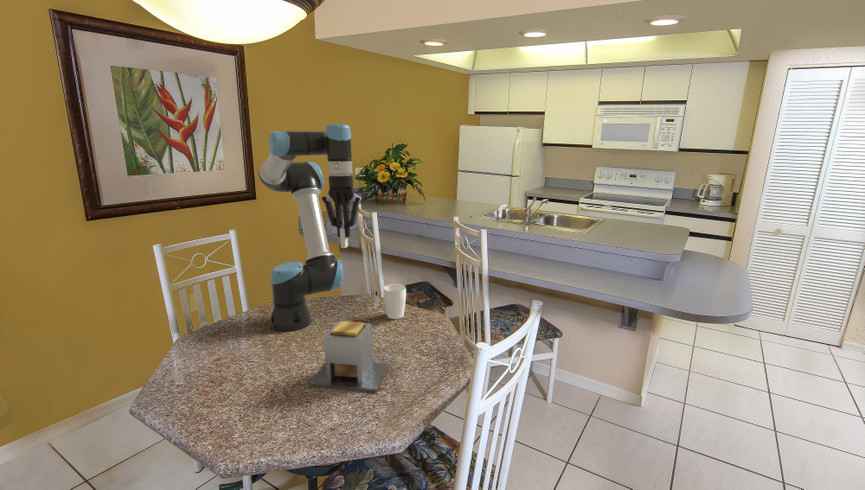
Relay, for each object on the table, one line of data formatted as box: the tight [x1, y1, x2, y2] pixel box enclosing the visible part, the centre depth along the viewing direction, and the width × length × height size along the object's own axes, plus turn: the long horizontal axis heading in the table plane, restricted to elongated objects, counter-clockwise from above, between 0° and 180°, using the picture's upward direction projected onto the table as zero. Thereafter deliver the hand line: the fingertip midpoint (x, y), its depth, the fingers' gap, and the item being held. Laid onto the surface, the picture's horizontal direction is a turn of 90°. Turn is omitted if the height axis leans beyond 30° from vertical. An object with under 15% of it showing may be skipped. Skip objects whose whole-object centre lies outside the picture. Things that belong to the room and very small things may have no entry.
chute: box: [308, 321, 390, 394], centre depth 126 cm, size 20×14×15 cm
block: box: [332, 320, 365, 378], centre depth 126 cm, size 7×7×14 cm
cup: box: [382, 283, 407, 320], centre depth 170 cm, size 9×9×12 cm
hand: (344, 246), depth 141 cm, fingers closed
